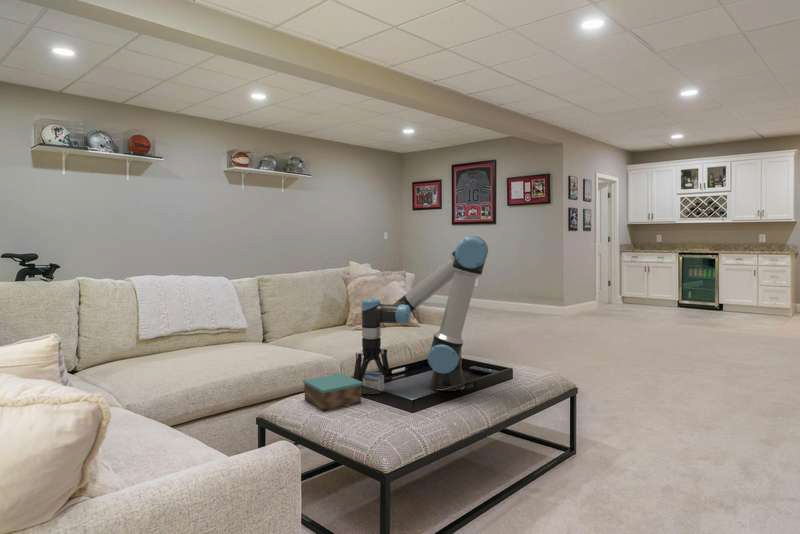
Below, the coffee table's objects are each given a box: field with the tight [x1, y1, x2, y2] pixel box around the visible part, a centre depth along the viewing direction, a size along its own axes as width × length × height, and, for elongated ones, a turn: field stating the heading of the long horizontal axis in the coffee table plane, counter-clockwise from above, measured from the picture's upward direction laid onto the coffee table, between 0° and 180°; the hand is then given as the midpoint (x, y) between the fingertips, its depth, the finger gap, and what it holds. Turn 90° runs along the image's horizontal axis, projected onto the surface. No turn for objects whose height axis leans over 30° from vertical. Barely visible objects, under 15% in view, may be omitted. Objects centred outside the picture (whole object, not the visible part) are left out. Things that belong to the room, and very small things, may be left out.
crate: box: [303, 383, 362, 412], centre depth 202 cm, size 16×16×7 cm
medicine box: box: [363, 370, 383, 390], centre depth 213 cm, size 8×4×9 cm, turn 76°
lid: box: [302, 372, 363, 393], centre depth 202 cm, size 17×17×1 cm
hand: (372, 392), depth 213 cm, fingers closed on medicine box, 8 cm apart
